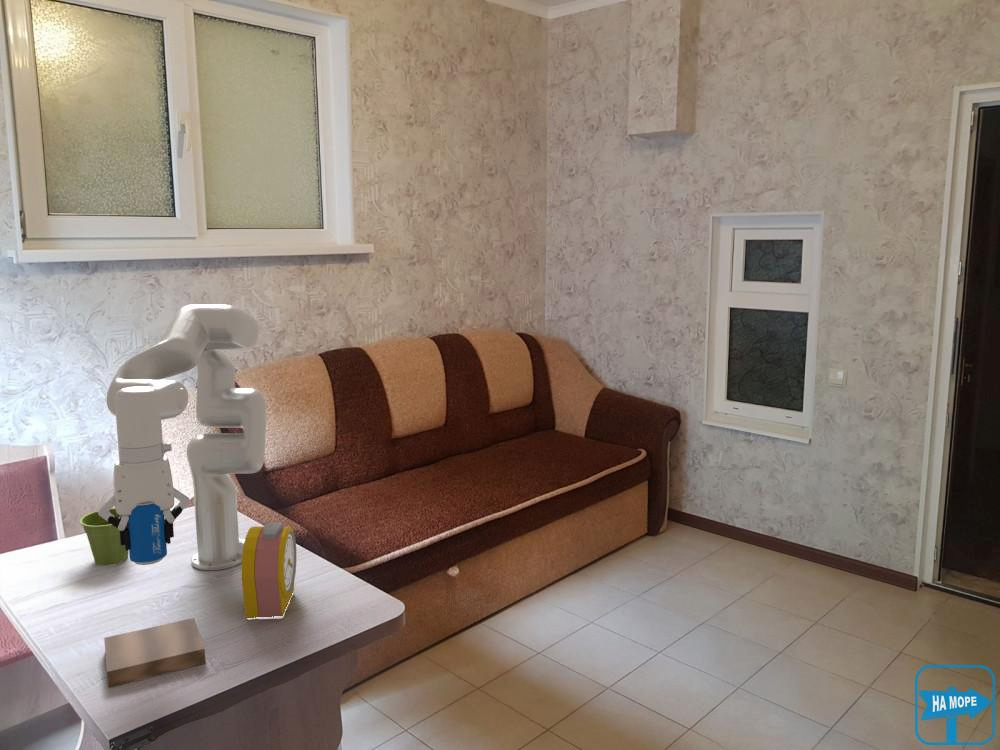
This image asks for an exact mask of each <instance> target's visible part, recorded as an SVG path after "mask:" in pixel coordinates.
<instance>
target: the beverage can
mask: <svg viewBox="0 0 1000 750" xmlns="http://www.w3.org/2000/svg"><path fill="white" fill-rule="evenodd" d="M154 503H155V502H151V503H146V504H136V505H137V506H136V507H135V508H134V509H133V510H132V511H131V515H129V520H128V522H127V528H128V533H129V546H130V549H129V552H128V557H129V560H130V562H132V563H134V564H135V565H138V566H147V565H154V564H157V563H160V562H161V561H162V560H163V559H164V558H165V557H167V555H168V549H167V548H168V547H167V545H168V544H167V543H166V532H165V516H164V514H163V511H161V509H160V507H159V506H158V505H156V504H154Z"/></svg>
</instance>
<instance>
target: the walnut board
mask: <svg viewBox="0 0 1000 750" xmlns="http://www.w3.org/2000/svg"><path fill="white" fill-rule="evenodd" d="M103 639H104V641H103V642H104V650H105V652H104V653H105V663H106V673H107V683H108V684H107V685H108V688H114V687H116V686H120V685H125V684H129V683H131V682H135V681H141V680H145V679H149V678H152V677H157V676H161V675H164V674H165V675H166V674H169V673H172V672H173V673H174V672H176V671H177V672H178V671H180V670H185V669H189V668H192V667H193V668H194V667H196V665H197V666H200V665H201V666H202V665H204V663H206V651H205V650H206V649H205V646H204V643H203V639H202V637H201V634H200V630H199V628H198V624H197V621H196V618H195V617H192V618H188V619H184V620H180V621H174V622H170V623H165V624H161V625H157V626H152V627H147V628H143V629H138V630H134V631H128V632H125V633H120V634H116V635H110V636H106V637H104V638H103Z"/></svg>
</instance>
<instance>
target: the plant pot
mask: <svg viewBox="0 0 1000 750" xmlns="http://www.w3.org/2000/svg"><path fill="white" fill-rule="evenodd" d="M109 512H110V513H111V514H112V515H114V516H116V517H117V518H119V517H120V515H118V514H117V513H116V509H115V507H112V508H111V509H110V510H109ZM79 523H80V525H82V527H83V530H84V532H85V534H86V537H87V540H88V543H89V546H90V550H91V553H92V556H93V560H94V563H95V564H96V565H100V566H103V567H107V566H115V565H118V564H120V563H121V562H124V561H126V560H127V559H128V558H129V550H127V551H126V550H125V545H121V542H120V530H118V528H116V527H115V526H113V525H112V524H110V523H109V522H108V521H107V520H105V519H104V518H102V517H101V516H99V515H98V510H95V511H92V512H89V513H87V514H85V515H83V516H82V517H81V518H80V520H79ZM126 525H127V524H126Z"/></svg>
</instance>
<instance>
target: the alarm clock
mask: <svg viewBox="0 0 1000 750" xmlns="http://www.w3.org/2000/svg"><path fill="white" fill-rule="evenodd" d="M244 540H245V542H244V547H243V553H242V562H241V563H240V564H241V567H240V568H241V570H240V571H241V575H240V576H241V578H240V579H241V586H242V593H243V596H242V597H243V602H244V603H243V606H244V610H245V611H244V612H245V619H246V618H254V617H255V618H256V617H272V616H273V617H274V616H283V614H284V612H285V609H286V607H287V605H288V602H289V600H290V598H291V596H292V593H293V591H294V592H295V580H296V570H297V542H296V541H297V539H296V535H295V532H294V530H293V528H292V527H291V526H290V525H284V524H283V522H282V521H280V522H276V521H275V522H274V521H273V522H268V523H266V524H264V526H251V527H250V528H249V529H248V531H247V533H246V536H245V537H244Z"/></svg>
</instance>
